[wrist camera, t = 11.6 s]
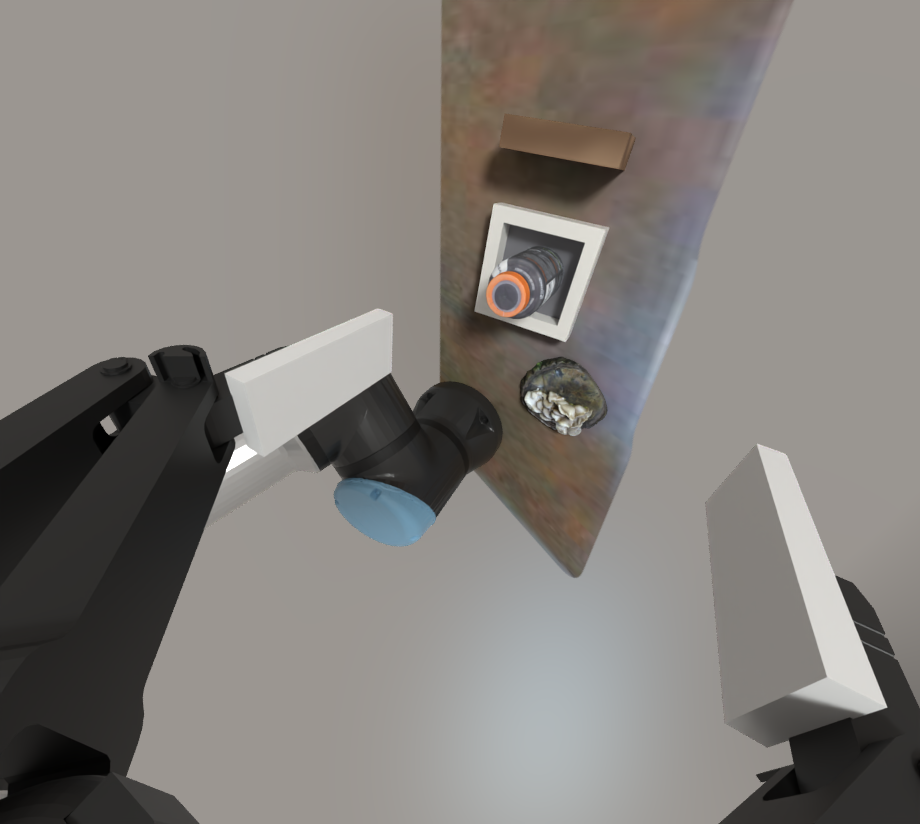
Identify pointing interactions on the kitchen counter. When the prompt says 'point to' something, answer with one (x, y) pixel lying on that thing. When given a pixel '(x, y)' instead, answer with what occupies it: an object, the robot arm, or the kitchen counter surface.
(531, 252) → the pill bottle
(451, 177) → the kitchen counter surface
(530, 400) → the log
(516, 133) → the door edge
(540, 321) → the plate
